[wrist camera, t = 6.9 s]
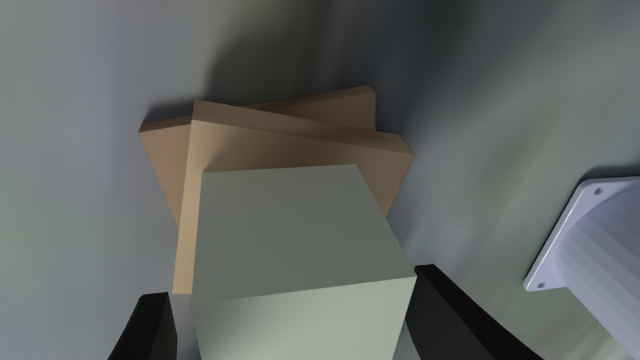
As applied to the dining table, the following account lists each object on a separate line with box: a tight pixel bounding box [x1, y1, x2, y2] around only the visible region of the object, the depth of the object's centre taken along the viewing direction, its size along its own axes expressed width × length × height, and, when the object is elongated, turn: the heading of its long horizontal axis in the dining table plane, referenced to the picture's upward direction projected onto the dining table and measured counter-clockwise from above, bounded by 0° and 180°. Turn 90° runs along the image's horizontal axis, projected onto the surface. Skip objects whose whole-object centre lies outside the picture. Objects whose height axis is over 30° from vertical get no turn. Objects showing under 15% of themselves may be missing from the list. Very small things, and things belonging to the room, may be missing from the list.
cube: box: [191, 164, 417, 360], centre depth 12 cm, size 5×5×5 cm
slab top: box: [172, 99, 415, 294], centre depth 14 cm, size 7×7×2 cm
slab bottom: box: [138, 85, 376, 228], centre depth 16 cm, size 8×8×2 cm
